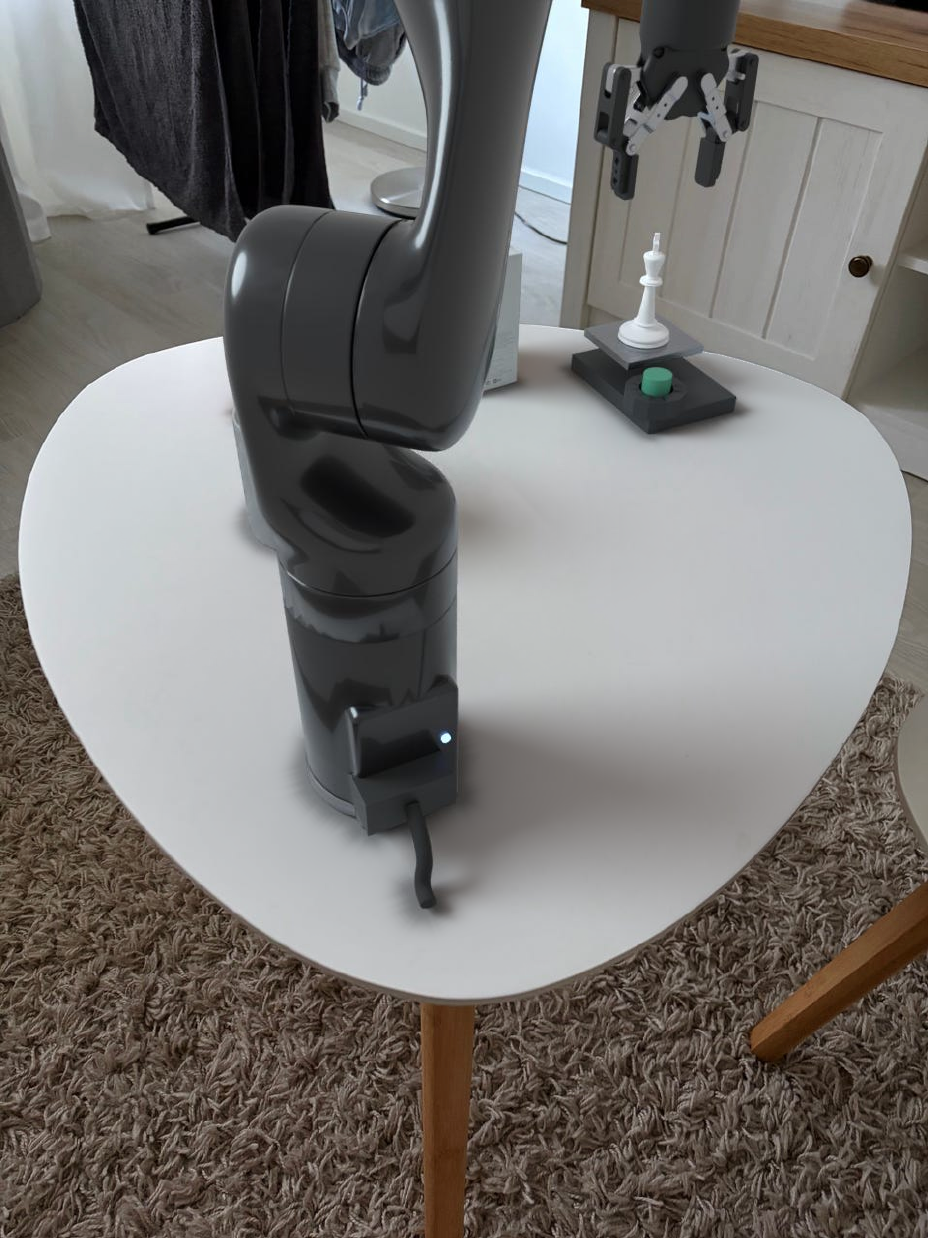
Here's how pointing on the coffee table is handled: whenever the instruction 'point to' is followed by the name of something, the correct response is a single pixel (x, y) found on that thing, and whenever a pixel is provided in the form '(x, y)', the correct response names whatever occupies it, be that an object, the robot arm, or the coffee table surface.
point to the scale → (684, 404)
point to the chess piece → (647, 307)
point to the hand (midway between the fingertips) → (664, 190)
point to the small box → (507, 327)
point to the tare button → (656, 381)
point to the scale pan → (639, 357)
